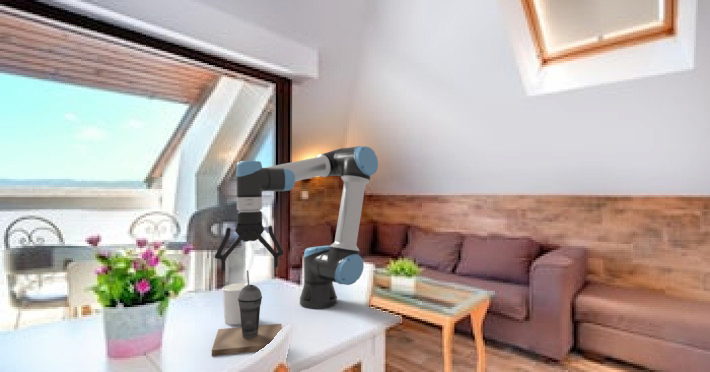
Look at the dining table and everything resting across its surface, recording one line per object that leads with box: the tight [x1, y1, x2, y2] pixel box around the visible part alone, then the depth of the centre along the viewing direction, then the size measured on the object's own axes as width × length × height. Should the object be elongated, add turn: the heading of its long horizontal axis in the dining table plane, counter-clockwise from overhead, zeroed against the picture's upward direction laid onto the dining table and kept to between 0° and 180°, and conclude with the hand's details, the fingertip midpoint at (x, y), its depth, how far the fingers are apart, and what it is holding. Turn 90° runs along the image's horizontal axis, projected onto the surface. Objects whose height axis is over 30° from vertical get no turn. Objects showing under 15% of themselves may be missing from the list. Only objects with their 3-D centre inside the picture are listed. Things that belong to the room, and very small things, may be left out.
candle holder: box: [221, 282, 251, 326], centre depth 131 cm, size 10×10×12 cm
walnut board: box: [211, 323, 283, 356], centre depth 114 cm, size 20×16×2 cm
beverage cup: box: [238, 270, 263, 339], centre depth 114 cm, size 7×7×20 cm
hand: (250, 279), depth 114 cm, fingers open, 13 cm apart
